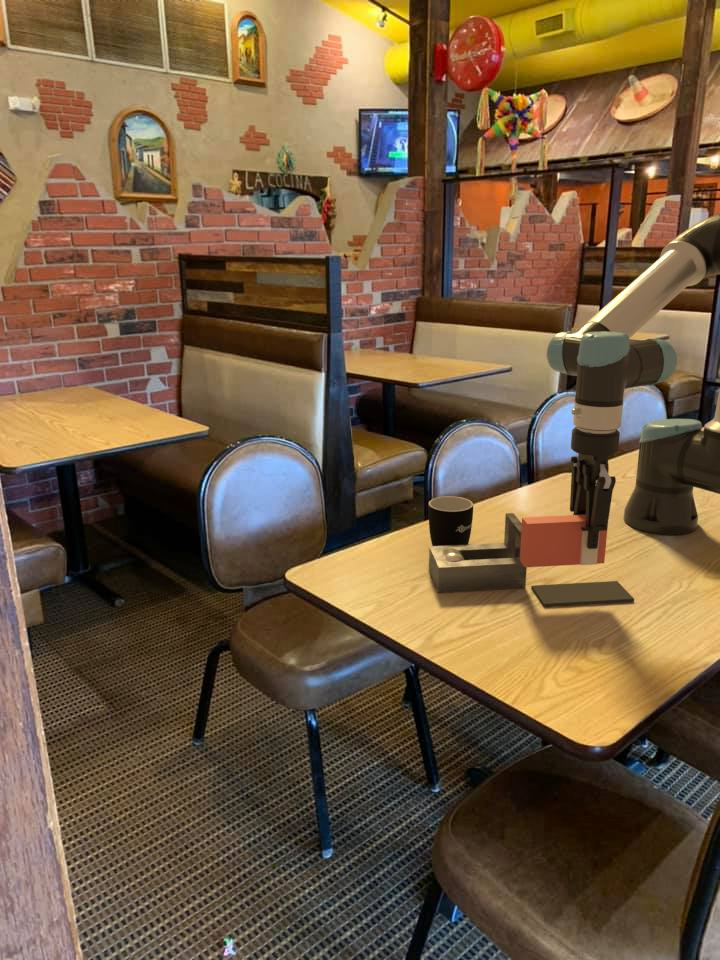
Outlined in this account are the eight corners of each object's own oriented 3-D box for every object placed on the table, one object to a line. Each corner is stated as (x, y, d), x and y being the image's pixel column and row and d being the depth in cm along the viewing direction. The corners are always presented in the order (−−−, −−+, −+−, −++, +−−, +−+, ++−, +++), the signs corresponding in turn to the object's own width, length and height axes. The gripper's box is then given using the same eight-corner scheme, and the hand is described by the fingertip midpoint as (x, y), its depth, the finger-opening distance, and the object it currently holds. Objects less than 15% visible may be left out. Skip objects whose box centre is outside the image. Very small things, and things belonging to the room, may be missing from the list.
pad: (616, 583, 132) (617, 580, 132) (633, 601, 125) (634, 598, 125) (531, 588, 130) (531, 585, 130) (543, 606, 124) (544, 603, 124)
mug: (456, 562, 142) (457, 514, 138) (419, 551, 147) (419, 504, 144) (487, 543, 150) (489, 498, 147) (451, 533, 156) (452, 489, 153)
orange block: (597, 556, 127) (601, 513, 125) (604, 563, 124) (608, 520, 122) (519, 560, 126) (522, 517, 124) (524, 567, 123) (527, 523, 121)
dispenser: (510, 566, 140) (513, 513, 136) (525, 588, 131) (528, 532, 127) (428, 570, 138) (429, 516, 135) (438, 592, 129) (439, 536, 126)
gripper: (556, 417, 126) (547, 542, 133) (593, 441, 110) (580, 580, 118) (598, 416, 126) (587, 540, 133) (640, 439, 111) (624, 578, 118)
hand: (583, 559), depth 125 cm, fingers closed on orange block, 3 cm apart
